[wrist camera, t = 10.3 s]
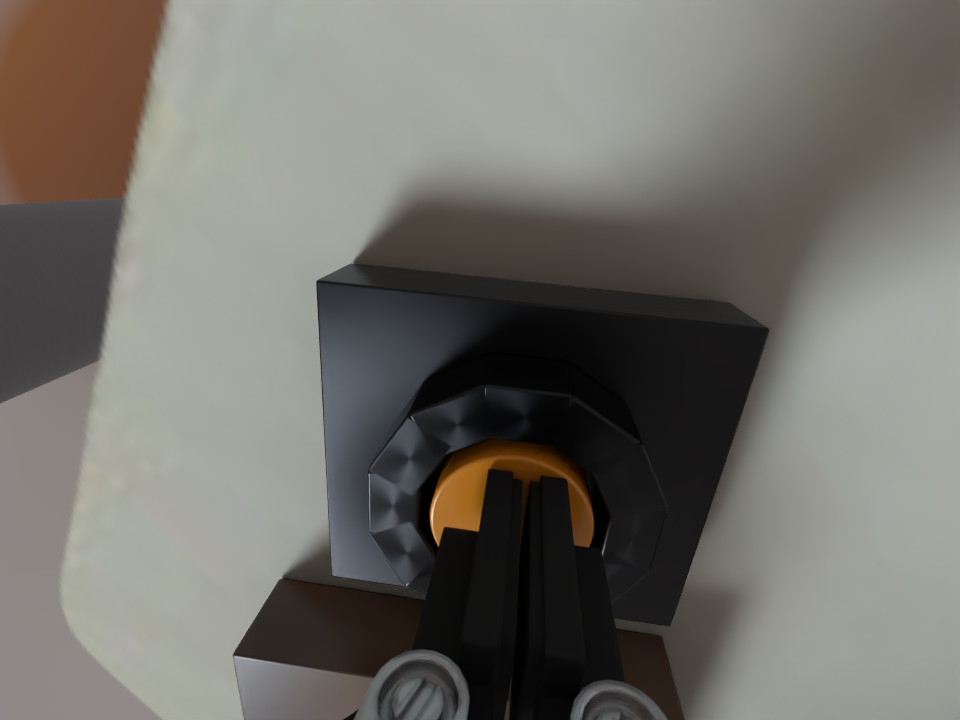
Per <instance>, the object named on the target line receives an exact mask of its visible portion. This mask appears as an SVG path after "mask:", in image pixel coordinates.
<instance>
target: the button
mask: <svg viewBox="0 0 960 720" xmlns="http://www.w3.org/2000/svg"><path fill="white" fill-rule="evenodd" d="M488 469H497V470H504V471H511V472H513V479H519V480H523V484H522V509H521V533H520V547H521V540H522V533H523V527H524V520H525V513H526V506H527V500H528V493H529V486H530V482H531V481H534V482H540V478H541V476H549V477H556V478H564V479H567V482H568V491H569V500H570V510H571V519H572V529H573V539H574V545H576V546H583V547H589V546H590V544H591V541H592V538H593V533H594V515H593V510H592V504H591V499H590V493H589V487H588V482H587V476H586V471H585V469H584V468H583V467H581V466H580V465H578V464H577V463H575V462H574V461H572V460H571V459H569V458H568V457H566V456H565V455H563V454H562V453H560V452H559V451H557V450H556V449H554V448H553V447H551V446H549V445H541V444H533V443H525V442H517V441H509V440H501V439H491V440H488V441H485V442H482V443H479V444H477V445H474V446H471V447H468V448H465V449H462V450H460V451H457V452H454V453H451V454H448V455H447V456H446V457H445V460H444V463H443V466H442V470H441V473H440V476H439V479H438V483H437V486H436V489H435V493H434V496H433V499H432V502H431V507H430V525H431V530H432V533H433V536H434V539H435V541H436V543H437V545H438V547H439V543H440V539H441V535H442V532H443V529H444V527H452V528H458V529H465V530H472V531H479V526H480V520H481V513H482V507H483V500H484V494H485V488H486V481H487V475H488Z"/></svg>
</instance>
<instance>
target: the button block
mask: <svg viewBox="0 0 960 720" xmlns="http://www.w3.org/2000/svg"><path fill="white" fill-rule="evenodd" d="M316 284H317V304H318V323H319V342H320V361H321V380H322V399H323V418H324V437H325V457H326V476H327V495H328V514H329V533H330V552H331V571H332V576H336V577H343V578H349V579H356V580H363V581H369V582H376V583H383V584H389V585H396V586H403V587H407V588H409V589H411V590H413V591H414V592H416V593H418V594H419V595H421V596H423V597H424V598H425V597H426V594H427V590H428V586H429V582H430V578H431V574H432V570H433V566H434V563H435V559H436V555H437V551H438V545H437V543H436V541H435V539H434V536H433V533H432V530H431V525H430V507H431V502H432V499H433V496H434V493H435V489H436V486H437V483H438V479H439V476H440V473H441V470H442V466H443V463H444V460H445V457H446V456H447V455H448V454H451V453H454V452H457V451H460V450H462V449H465V448H468V447H471V446H474V445H477V444H479V443H482V442H485V441H488V440H491V439H501V440H509V441H517V442H525V443H533V444H541V445H549V446H551V447H553V448H554V449H556V450H557V451H559V452H560V453H562V454H563V455H565V456H566V457H568V458H569V459H571V460H572V461H574V462H575V463H577V464H578V465H580V466H581V467H583V468H584V469H585V471H586V476H587V482H588V487H589V493H590V499H591V504H592V510H593V515H594V533H593V538H592V541H591V544H590V546H589V547H590V548H597V549H600V550H601V552H602V555H603V559H604V565H605V571H606V576H607V582H608V588H609V593H610V599H611V605H612V610H613V616H614V618H617V619H623V620H630V621H637V622H643V623H650V624H657V625H663V626H671V623H672V620H673V617H674V614H675V611H676V608H677V605H678V602H679V599H680V596H681V593H682V590H683V587H684V584H685V581H686V578H687V575H688V572H689V569H690V566H691V563H692V560H693V557H694V554H695V551H696V548H697V545H698V542H699V539H700V536H701V533H702V531H703V528H704V525H705V522H706V519H707V516H708V513H709V510H710V507H711V504H712V501H713V498H714V495H715V492H716V489H717V486H718V483H719V480H720V477H721V474H722V471H723V468H724V465H725V462H726V459H727V456H728V453H729V450H730V447H731V444H732V441H733V438H734V435H735V432H736V429H737V426H738V423H739V420H740V417H741V414H742V411H743V408H744V405H745V402H746V399H747V396H748V393H749V390H750V387H751V384H752V382H753V379H754V376H755V373H756V370H757V367H758V364H759V361H760V358H761V355H762V352H763V349H764V346H765V343H766V340H767V337H768V334H769V329H768V328H767V327H765V326H764V325H762V324H761V323H759V322H758V321H756V320H755V319H753V318H752V317H750V316H749V315H747V314H746V313H744V312H743V311H741V310H740V309H738V308H737V307H735V306H734V305H732V304H731V303H727V302H717V301H708V300H698V299H688V298H679V297H669V296H660V295H650V294H640V293H631V292H621V291H612V290H602V289H592V288H583V287H573V286H564V285H554V284H544V283H535V282H525V281H515V280H506V279H496V278H487V277H477V276H467V275H458V274H448V273H439V272H429V271H419V270H410V269H400V268H391V267H381V266H371V265H362V264H352V263H351V264H349V265H347V266H345V267H343V268H341V269H339V270H337V271H335V272H333V273H331V274H329V275H327V276H325V277H323V278H321V279H319V280H317V282H316Z"/></svg>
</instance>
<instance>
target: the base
mask: <svg viewBox="0 0 960 720" xmlns="http://www.w3.org/2000/svg"><path fill="white" fill-rule="evenodd" d="M423 605H424V601H423V600H417V599H410V598H403V597H397V596H390V595H384V594H377V593H370V592H364V591H357V590H351V589H344V588H337V587H331V586H324V585H318V584H311V583H304V582H298V581H291V580H284V579H280V580H279V581H278V583H277V584H276V586H275V587H274V589H273V591H272V592H271V594H270V595H269V597H268V599H267V600H266V602H265V603H264V605H263V607H262V608H261V610H260V612H259V613H258V615H257V616H256V618H255V620H254V621H253V623H252V624H251V626H250V628H249V629H248V631H247V632H246V634H245V636H244V637H243V639H242V640H241V642H240V644H239V645H238V647H237V648H236V650H235V652H234V653H233V659H234V665H235V671H236V676H237V682H238V688H239V693H240V699H241V705H242V711H243V716H244V720H343V719H345V718H346V717H348V716H349V715H351V714H352V713H354V712H355V711H357V710H358V709H359V707H360V705H361V703H362V701H363V699H364V697H365V695H366V693H367V691H368V689H369V687H370V684H371V682H372V681H373V679H374V678H375V676H376V675H377V673H378V672H379V670H380V669H381V668H382V667H383V666H384V665H385V664H386V663H387V662H389V661H390V660H391V659H392V658H393V657H396V656H398V655H400V654H402V653H404V652H406V651H412V648H413V644H414V640H415V636H416V632H417V628H418V625H419V621H420V617H421V613H422V609H423ZM616 633H617V639H618V644H619V650H620V656H621V661H622V667H623V673H624V678H625V683H626V684H629V685H631V686H633V687H635V688H637V689H639V690H640V691H642V692H643V693H644V694H645V695H647V696H648V697H649V698H650V699H652V700H653V701H654V702H655V704H656V705H657V706H658V707H659V708H660V710H661V711H662V712H663V713H664V714H665V716H666V718H667V719H668V720H685V718H684V714H683V711H682V707H681V704H680V700H679V696H678V693H677V689H676V686H675V682H674V678H673V675H672V671H671V668H670V664H669V660H668V657H667V653H666V650H665V646H664V643H663V639H662V637H660V636H655V635H648V634H641V633H635V632H628V631H622V630H616ZM509 698H510V687H509V693H508V699H507V705H506V712H505V718H504V720H508V718H509Z"/></svg>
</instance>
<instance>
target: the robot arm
mask: <svg viewBox="0 0 960 720" xmlns="http://www.w3.org/2000/svg"><path fill="white" fill-rule="evenodd" d="M522 484H523V480H519V479H513V472H511V471H504V470H497V469H488V475H487V481H486V488H485V494H484V500H483V507H482V513H481V520H480V526H479V531H472V530H465V529H458V528H452V527H444V529H443V532H442V535H441V539H440V543H439V547H438V551H437V555H436V559H435V563H434V566H433V570H432V574H431V578H430V582H429V586H428V590H427V594H426V597H425V601H424V605H423V609H422V613H421V617H420V621H419V625H418V628H417V632H416V636H415V640H414V644H413V648H412V651H406V652H404V653H402V654H400V655H398V656H396V657H393V658H392V659H391V660H390V661H389V662H387V663H386V664H385V665H384V666H383V667H382V668H381V669H380V670H379V672H378V673H377V675H376V676H375V678H374V679H373V681H372V682H371V684H370V687H369V689H368V691H367V693H366V695H365V697H364V699H363V701H362V703H361V705H360V707H359V709H358V710H357V711H355V712H354V713H352V714H351V715H349V716H348V717H346V718H345V719H343V720H504V718H505V712H506V705H507V699H508V693H509V687H510V698H509V718H508V720H668V719H667V718H666V716H665V714H664V713H663V712H662V711H661V710H660V708H659V707H658V706H657V705H656V704H655V702H654V701H653V700H652V699H650V698H649V697H648V696H647V695H645V694H644V693H643V692H642V691H640V690H639V689H637V688H635V687H633V686H631V685H629V684H626V683H625V678H624V673H623V667H622V661H621V656H620V650H619V644H618V639H617V633H616V627H615V622H614V616H613V610H612V605H611V599H610V593H609V588H608V582H607V576H606V571H605V565H604V559H603V555H602V552H601V550H600V549H597V548H590V547H583V546H576V545H574V539H573V529H572V519H571V510H570V500H569V491H568V482H567V479H564V478H556V477H549V476H541V478H540V482H534V481H531V482H530V486H529V493H528V500H527V506H526V513H525V520H524V527H523V533H522V540H521V547H520V533H521V509H522Z"/></svg>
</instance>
